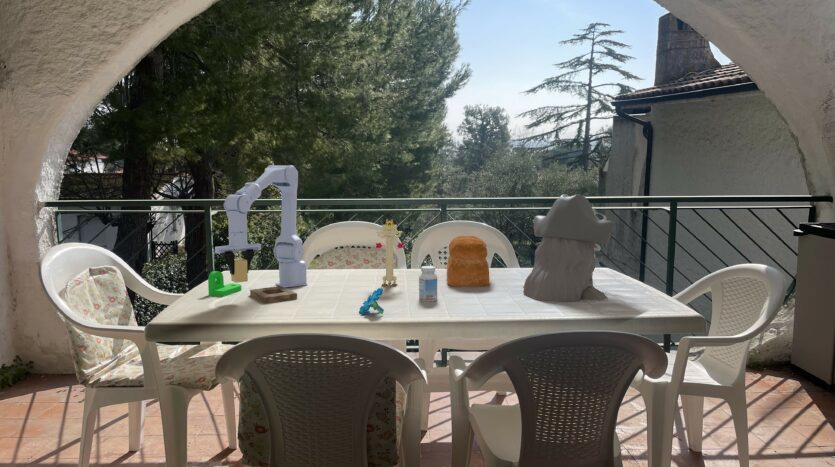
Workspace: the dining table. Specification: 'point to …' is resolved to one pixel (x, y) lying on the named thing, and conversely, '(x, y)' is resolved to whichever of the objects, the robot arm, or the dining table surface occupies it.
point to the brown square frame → (273, 294)
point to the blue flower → (372, 302)
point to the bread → (467, 262)
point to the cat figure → (389, 249)
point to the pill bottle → (428, 284)
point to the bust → (567, 251)
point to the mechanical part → (221, 285)
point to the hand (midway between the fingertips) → (239, 273)
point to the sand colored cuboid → (240, 271)
